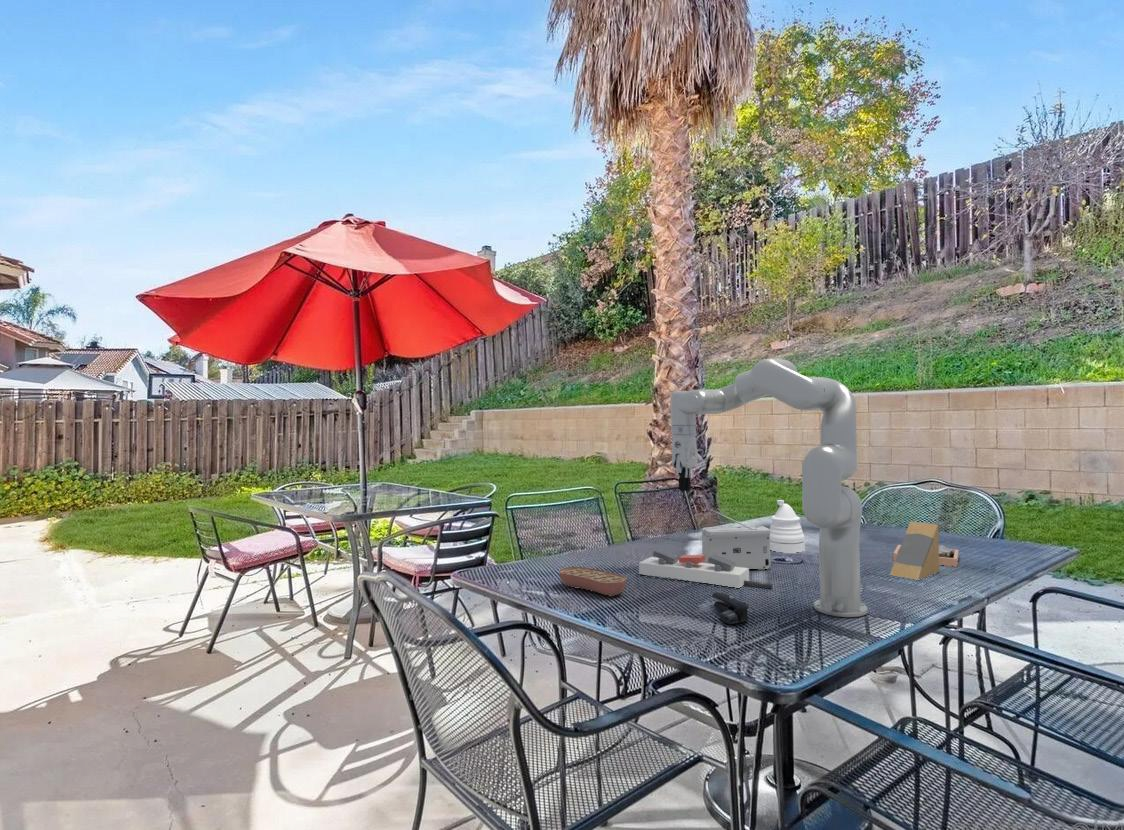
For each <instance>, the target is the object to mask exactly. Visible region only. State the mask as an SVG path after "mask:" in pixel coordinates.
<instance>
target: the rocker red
mask: <svg viewBox="0 0 1124 830" xmlns="http://www.w3.org/2000/svg"><path fill="white" fill-rule="evenodd" d="M678 560H679V563H686V562H692V563H703V561H705V560H706V559H705V555H702V554H682V555H681V556H679V559H678Z"/></svg>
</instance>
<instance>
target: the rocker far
mask: <svg viewBox="0 0 1124 830" xmlns="http://www.w3.org/2000/svg"><path fill="white" fill-rule="evenodd" d="M652 557H657V558H660V559H664V560H665V561H667V562H670V563H672V564H673V563H675V562H677V561H678V560H679V557H680V556H679V555H677V554H674V553H672V552H669V551H667V550H664V549H662V548H657V549H655V550H653V553H652Z"/></svg>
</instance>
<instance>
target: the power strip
mask: <svg viewBox="0 0 1124 830" xmlns="http://www.w3.org/2000/svg"><path fill="white" fill-rule="evenodd" d="M638 574H644V575H653V576H660V577H670V578H677V579H683V580H689V581H696V582H702V583H709V584H716V585H722V586H728V587H735V588H734V589H736V588H740V587H742V586H743V585H744V584H746V585H744V586H751V585H753V586H754V587H759V586H760V587H761V588H766V587H767V588H768V589H773V587H774V585H773V583H769V582H768V583H767V582H761V581H752V580H750V570H749V568H742V567H734V568H733V569H732V570H730V571H729V570H727V569H724V568H722V567H721V566H719V565H714V564H708V563H703V562H702V563H692V562H686V563H679V559H678V561H677V562H675V563H673V564H672V563H670V562H667V561H665V560H664V559H660V558H657V557H655V556H650V557H648V558H645V559H644V560H641V561H639V562H638ZM744 586H743V587H744ZM753 586H752V587H753ZM728 587H727V588H728ZM743 587H742V588H743ZM740 589H741V588H740Z"/></svg>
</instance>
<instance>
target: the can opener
mask: <svg viewBox="0 0 1124 830" xmlns="http://www.w3.org/2000/svg"><path fill="white" fill-rule="evenodd" d="M712 597H713V598H715V599H716V600H715V602H714V604H713V605H714V607H715V608H716V609H718V610H721V611H722V612H720V613H719V619H720V621H722V622H723V623H724V622H725V623H724V624H726V623H727V625H732V624H738V623H743V622H746V621H747V620H749V616H748V615H749V614H748V610H749V602H747V601H739V600H738V599H737V598H735V597H734V596H733V595H729V594H726V593H723V592H717V591H716V592H713V593H712Z"/></svg>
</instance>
